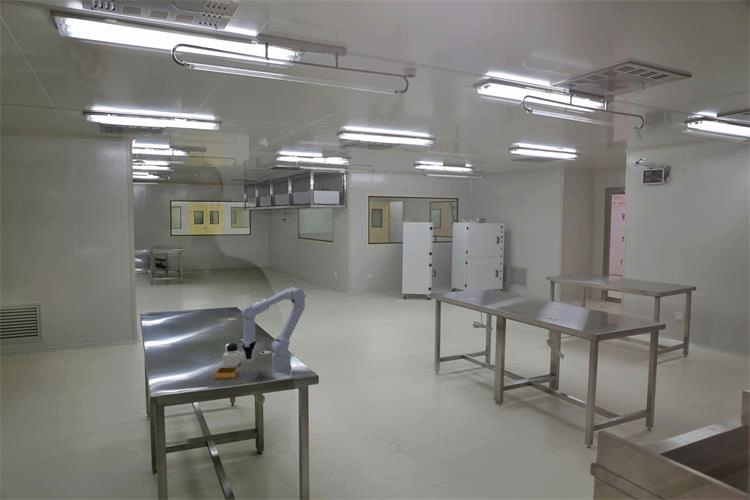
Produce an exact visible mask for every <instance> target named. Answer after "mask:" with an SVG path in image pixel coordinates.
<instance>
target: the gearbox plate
mask: <svg viewBox="0 0 750 500" xmlns="http://www.w3.org/2000/svg"><path fill="white" fill-rule="evenodd" d="M260 371H261V370H260V369H257V370H255V369H254V370H239V366H228V367H218V368H217V369H216V371H215V372H214V379H213V381H227V380H230V381H231V380H235V381H236V380H256V379H257V378H258V376H259V373H260Z"/></svg>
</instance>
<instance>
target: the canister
mask: <svg viewBox="0 0 750 500" xmlns="http://www.w3.org/2000/svg"><path fill="white" fill-rule="evenodd" d="M254 350H255V348H254V349H253V351H252V357H251V359H246V355H245V354H244V357H245V359H244V360H245V363H252V362H254V360H255V357H254V354H255V353H254V352H255V351H254Z"/></svg>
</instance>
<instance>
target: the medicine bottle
mask: <svg viewBox="0 0 750 500" xmlns="http://www.w3.org/2000/svg"><path fill="white" fill-rule="evenodd" d="M224 348H225V352H224V354H222V366H223V367H239V364H240V363H241V361H240V360H241V355H240V354H241V352H240V351H239V350H238V344H237V343H235V342H230V343H226V344H225V347H224ZM223 367H222V368H223Z"/></svg>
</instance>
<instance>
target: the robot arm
mask: <svg viewBox="0 0 750 500" xmlns="http://www.w3.org/2000/svg"><path fill="white" fill-rule="evenodd" d="M305 299H306V294H305V292H304V290H303V289H301V288H298V287H296V286H290V287H288V288H285V289H284V290H281V291H280V292H278V293H277V294H274V295H273V296H271V297H268V299H266V298H259V299H258V301H255V302H254V303H250V304H249V305H246V306H244V307H243V308H242V310H241V311H240V312H241V315H242V320H243V321H242V331H243V332H242V335H243V336H242V339H240V342H243V343H244V344H242V346H241V347H242V349H243V350H244V356H245V355H246V359H251V357H252V351H253V349H254V350H255V346H256V343H257V339H256V317H257V315H259V314H261V313H264V312H265V311H267V310H269V309H270V307H271V306H272V305H275V304H276V303H279V302H281V301H283V300H288V301H289V300H290V301H291V303H292V306H293V307H292V309H291V312H290V314H289V315H288V318H286V319H287V320H286V322H285V324H284V326H283V328H282V330H281V332H280V334H278V335H277V336H276V337H275V339H274V340H273V341H272V342H271V344H270V349H271V351H272V354H271V361H272V363H271V364H272V365H271V366H272V367H271V368H272V370H271V371H272V372H273V373H285V372H286V373H287V372H288V373H290V372H291V370H292V363H291V360H292V359H291V354H289V353H288V351H289V346H290V339H291V336H292V334H293V333H294V330H295V329H296V327H297V324H298V322H299V320H300V318H301V316H302V314H303V313H304V310H305V307H306V301H305Z"/></svg>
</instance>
